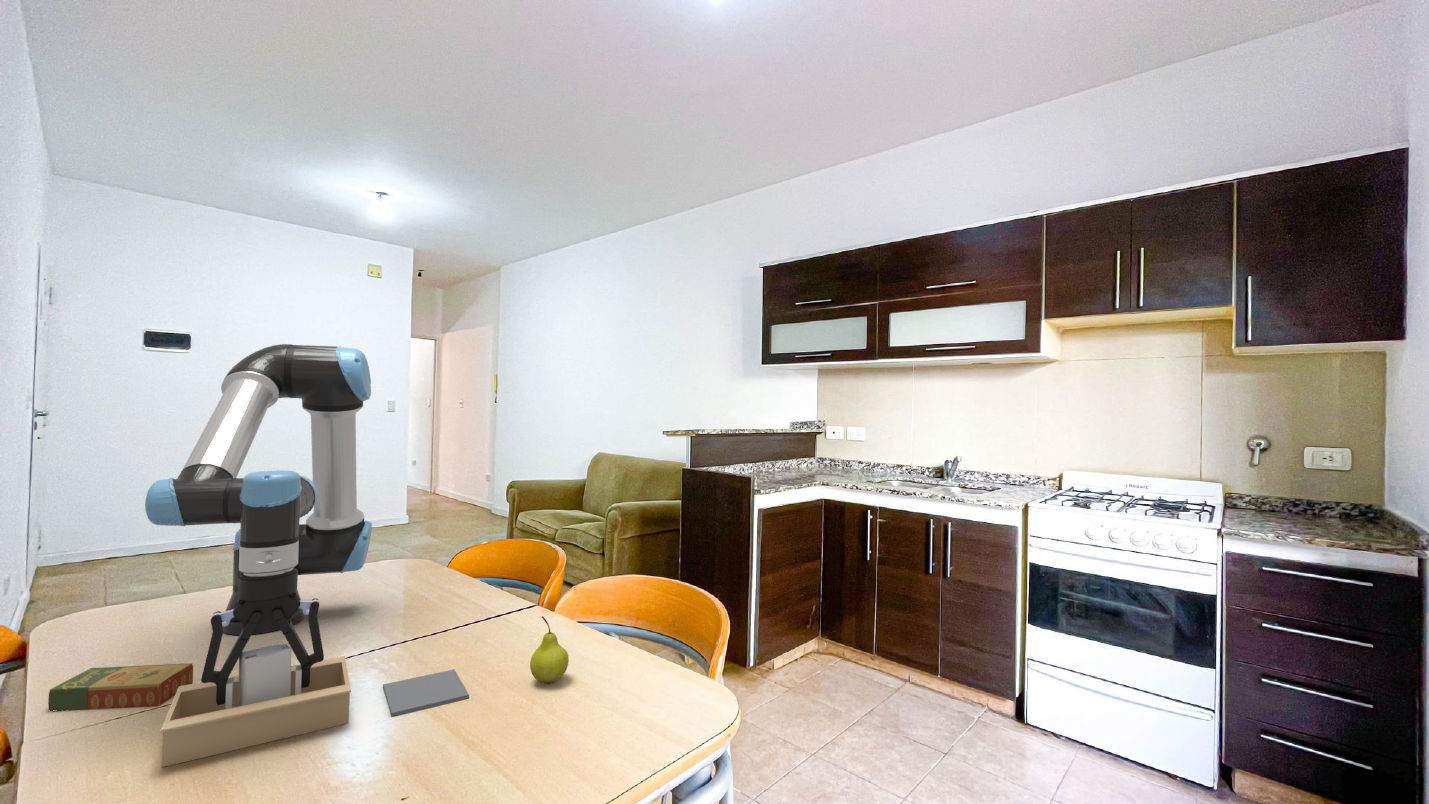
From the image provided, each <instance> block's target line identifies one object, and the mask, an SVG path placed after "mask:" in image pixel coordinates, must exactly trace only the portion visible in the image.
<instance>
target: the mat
mask: <svg viewBox="0 0 1429 804" xmlns="http://www.w3.org/2000/svg"><path fill="white" fill-rule="evenodd" d="M382 688H383V692H384V696H385V699H386V703H387V706H388V710H389V713H390V716H391V718H393V717H396V716H400V715H404V714H409V713H414V712H417V711H422V710H425V709H429V708H434V707H437V706H443V705H446V704H449V703H450V704H451V703H454V702H458V701H462V700H466V699H470V694H469V692H468V690H467V688H466V687H465V685H464V683H463V681H462V680H461V678H460V676H459V675H458V674H457V672H456V670H455V669H449V670H444V671H440V672H435V673H430V674H425V675H422V676H417V677H411V678H406V679H402V680H397V681H392V682H388V683H384V684H382Z"/></svg>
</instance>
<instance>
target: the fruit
mask: <svg viewBox="0 0 1429 804" xmlns="http://www.w3.org/2000/svg"><path fill="white" fill-rule="evenodd" d="M541 618H542V619H543V621H544V623H546V625H547V627H548V632H546V633H545V634H544V635H543V637H542V641H541V643H540V644H539V646H538V647H537V648H535V651H534V652H533V653H532V656H531V658H530V661H529V663H530V664H529V668H530V672H531V675H532V677H533V678H534V679H535V680H537V682H540V683H542V684H544V685H549V684H553V683H555V682H556V681H558V680H559V679H560V678H561V677H562V676H564V675H565V673H566V672H567V669H568V666H569V662H570V661H569V658H570V657H569V653H568V651H567V650H566V649H565V648H564V647H563V646H562V645H560V644H559V642H558V637H557V636H556V634H555V632H552V631H551V628H550V625H549V622H548V621H547V619H546V618H545V617H544V615H542V616H541Z"/></svg>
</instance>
